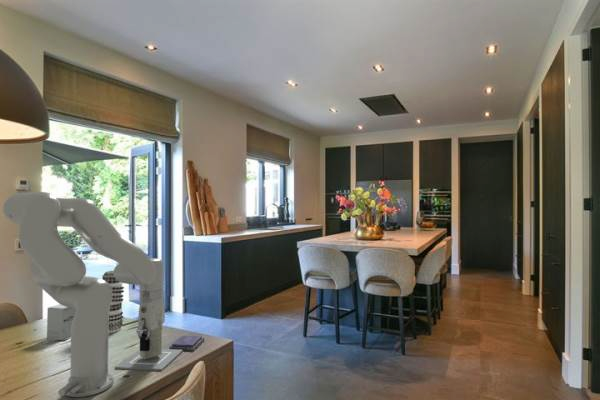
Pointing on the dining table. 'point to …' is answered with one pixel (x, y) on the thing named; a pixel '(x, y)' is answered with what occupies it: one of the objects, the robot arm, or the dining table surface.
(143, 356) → the skincare box
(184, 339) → the ink pad
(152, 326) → the robot arm
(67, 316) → the supplement box
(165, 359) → the card
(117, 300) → the decorative candle
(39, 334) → the dining table surface
